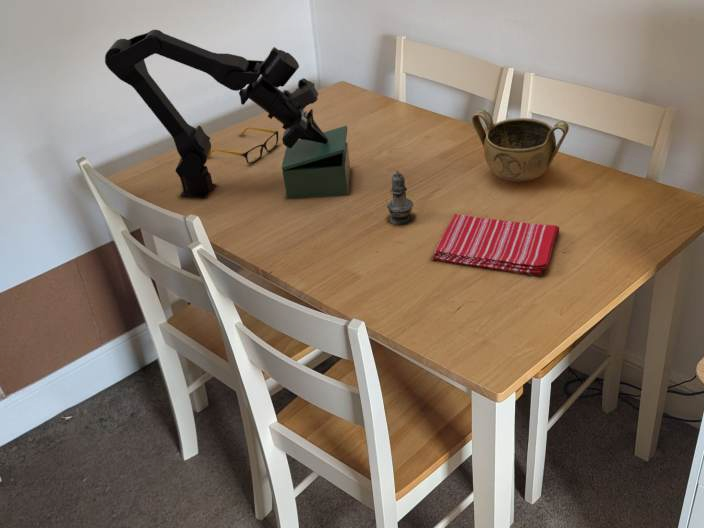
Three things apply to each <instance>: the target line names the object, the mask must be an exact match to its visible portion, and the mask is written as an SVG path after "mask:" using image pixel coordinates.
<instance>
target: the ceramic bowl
mask: <svg viewBox="0 0 704 528" xmlns="http://www.w3.org/2000/svg"><path fill="white" fill-rule="evenodd" d="M480 119H482V120H483V121H484V123H485V126H486V131H485V129H484V126H483V124H482V122H481V120H480ZM471 122H472V125H473V128H474V130H475V132H476V134H477V137H478V138H479V141H480V142H481V144H482V148H483V154H484V159H485V162H486V165H487V166H488V168H489V170H490V172H491V173H493V174H494V175H495V176H496V177H498V178H499V179H501V180H504V181H506V182H510V183H511V182H512V183H525V182H529V181H532V180H535V179H537V178H539V177H540V176H542V175H543V174H544V173H545V172H547V170H548V168H550V167H551V164H552V163H553V161H554V158H555V157H556V155H557V154H558V152H559V149H560V147H561V145H562V144H563V142H564V140H565V138H566V136H567V134H568V133H569V129H570V127H569V124H568V123H567V122H566V121H564V120H560V121H557V122H556V123H555V124H554V125H553V127H552V126H551V125H550V124H549V123H547V122H545V121H543V120H539V119H535V118H530V117H528V118H527V117H516V118H508V119H505V120H501V121H497V122H496V123H494V119H493V117H492V115H491V114H490V113H489V111H488V110H486V109H483V108H480V109H477V110H476V112H475V113H474V114H473V115H472V119H471ZM556 130H560V131H562V136H560V138H559V140H558V142H557V140H556V139H557V138H556V135H555V131H556Z"/></svg>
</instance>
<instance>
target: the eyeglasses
mask: <svg viewBox="0 0 704 528" xmlns="http://www.w3.org/2000/svg"><path fill="white" fill-rule="evenodd" d="M247 130H256V131H261V132H265V133H270V134H272V135H271V136H270V137H269V136H268V138H267V139H266V140H265V141H264V142H263V143H262V144H259V145H256V146H254V147H253V148H251V149H249V150H247V151H245V152H239V151H232V150H225V149H219V148H213V149H211V151H210V154H209V156H208V158H210V156H211V155H212V153H213V152H217V151H218V152H221V153H225V154H231V155H236V156H239V157H244V159H245V161H246V163H247V164H249V165H250V164H251V165H252V164H255V163H256V162H257V161H259V160H261V158H262V156H263V151H264V149H265V151H266V152H267V153H271V152H272V151H273V150H275V148H276V147H277V145H278V143H279V131H278V130H274V129H267V128H260V127H253V126H248V127H245V128H244V129H243V131H242V132H241V133H240V136H244V134H245V133H246V131H247ZM274 136H276V138H275V139H276V142H275V145H274V146H273V148H271V149H269V150H268V147H267V143H268V141H269V140H271V139H272V138H273V137H274ZM259 147H260V149H259V157H258V158H257V159H255V160H254V161H250V162H249V158H248V155H249V153H250V152H251V151H253V150H255V149H257V148H259Z"/></svg>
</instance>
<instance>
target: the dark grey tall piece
mask: <svg viewBox="0 0 704 528" xmlns="http://www.w3.org/2000/svg"><path fill="white" fill-rule="evenodd" d="M405 180H406V179H405V175H404V174H402V173H400V171H399V170H396V171H395V173H394V174H393V175H392V176H391V188H390V192H391V193H392V195H391V196H392V198H391V200H389V201H388V202H387V204H386V208H387V209H388V212H389V213H390V216H389V218H388V221H389V222H390V223H391V224H393V225H397V226H401V225H403V226H404V225H408V224H409V223H411V222H412V221H413V219H414V217H413V215H412V214H411V212H412V211H413V210H412V209H413V207H414V202H413V200H411V199H409V198H407V191H408V188H407V187H406V181H405Z"/></svg>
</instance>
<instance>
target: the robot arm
mask: <svg viewBox="0 0 704 528" xmlns="http://www.w3.org/2000/svg"><path fill="white" fill-rule="evenodd" d="M153 55H159V56H161V57H164V58H167V59H169V60H171V61H174V62H177V63H180V64H182V65H184V66H187V67H190V68H191V69H192V68H193V69H195V70H198V71H200V72H202V73H205V74H207V75H209V76H210V77H211V78H213V80H215V81H216V83H218V84H220V85H221V86H224V87H225V88H227V89H229V90H231V91H235V92H238V95H239V98H240V105H242V106H245V104H246V102H247V101H248V100H250V101H252V102H253V103H254V104H256V105H257V106H258V107H259V108H261V109H262V110H263V111H265V112H266V113H267V118H269V119H270V120H272V119H273V118H274V119H275V120H276V121H278V122H279V123H281V124H282V127H281V128H282V129H284V131H283V135H282V144H283V145H284V146H285V148H286V147H288V148H289V149H291V148H292V147H293V146H294V144H295V143H296V142H297V141H298V140H301V139H302V140H309V141H314V142H319V143H323V144H326V143H327V141H328V139H327V137H326V136H325V135H324V132H323V130H322V129H321V128H320V126H319V125H318V123H317V122H316V121H315V120H314V110H313V108H311V109H310V110H309V111H306V110H304V109H306V107H307V106H309V105H312V104H314V103H316V102H317V101H318V96H319V92H318V90H317V89H316V87H315V86H316V85H315V83H314V82H312V81H311V80H308V79H306V78H301V79H299V80H298V83H297V88H295V90H294V91H292V92H291V91H289V90H286V89H284V90H283V91H282V90H281V89H279V87H284V86H286V84H287V83H288V82H289V80H290V79H291V78H292V77H293V76H294V74H296V72H297V71H298V69H299V68H300V64H299V62H298V60H296V58H295V57H294V56H293V55H292V54H290V53H289V52H286V51H285V50H283V49H278V48H277V47H275V46H273V47H272V48H271V49H270V51H269V54H268V55H267V56H266V58H265V59H264V60H254V59H247V58H245V57H243V56H241V55H237V54H231V53H221V52H220V53H217V52H213V51H210V50H207V49H205V48H203V47H200V46H197V45H195V44H192V43H190V42H187V41H185V40H183V39H179V38H177V37H174V36H171V35H169V34H166V33H164V32H163V31H162V30H160V29H152V30H149V31H148V32H145V33H142V34H139V35H135V36H133V37H131V38H120V39H119V38H118V39H116V40H115V42H114V43H113V44H111V46H110V47H109V48H108V50H107V51H106V53H105V56H104V63H105V66H106V67H107V70H109V71H110V72H111V73H112V74H113V75H114V76H115V77H116V78H118V79H119V80H120V81H122V82H124V83H126V84H127V85H129V86H131V88H133V89H134V90H135V92H136V93H137V94H138V96H139V97H140V98H141V99H142V101H143V102H144V103H145V104H146V106H147V107H148V108H149V109H150V111H151V112H152V114H154V116H155V117H156V118H157V120H158V121H159V123H161V125H162V126H163V127H164V128H165V129H166V131H167V132H168V133H169V134H170V136H171V138H172V139H173V141H174V145H175V149H176V151H177V153H178V155H179V157H180V159H179V162H178V163H177V165H176V168H175V173H176V174H177V176H178V177H179V178H180V182H181V187H182V190H183V191H182V192H181V193H180V197H183V198H184V197H185V198H197V199H205V198H207V196H208V195H209V194H210V193H211V191H213V190H214V188H215V187H216V183H214V182H213V179H212V174H211V172H209V169H208V166H207V165H206V164H207V161H208V159H209V157H210V156H209V154H210V151H211V150H212V143H211V141H210V140H211V137H210V136H208V135H207V134H206V132H205V131H204V128H202V126H201V125H198V126H196V127H194V126H192V125H190V124H189V123H188V122H187V121H186V120H185V119H184V117H183V116H182V114H181V113H180V112H179V111H178V109H177V108H176V106H174V104H173V102H172V101H171V100H170V99H169V98H168V96H167V95H166V93H164V91H163V90H162V88H161V87H160V85H159V84H158V83H157V82H156V81H155V80H154V78H153V77H152V76H151V74H150V73H149V70H148V68H147V65H146V62H145V60H146V59H147V58H149V57H150V56H151V57H152V56H153ZM208 156H209V157H208Z"/></svg>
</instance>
